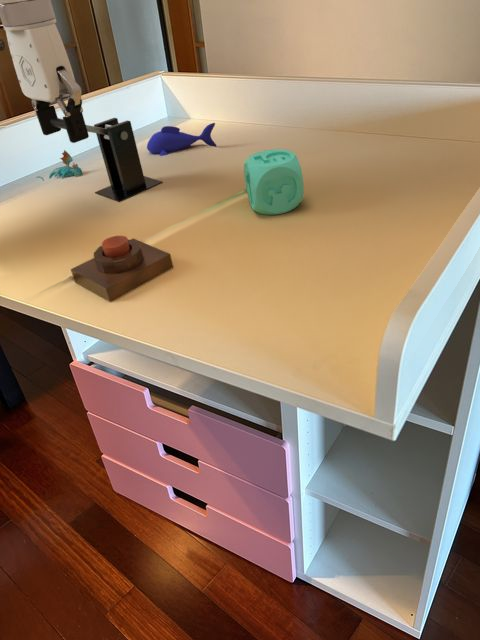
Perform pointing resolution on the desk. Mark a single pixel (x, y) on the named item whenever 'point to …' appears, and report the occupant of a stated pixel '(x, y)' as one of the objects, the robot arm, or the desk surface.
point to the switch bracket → (122, 162)
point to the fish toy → (176, 140)
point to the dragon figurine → (66, 168)
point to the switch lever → (60, 124)
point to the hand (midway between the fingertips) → (65, 135)
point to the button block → (121, 270)
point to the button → (115, 246)
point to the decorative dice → (273, 181)
